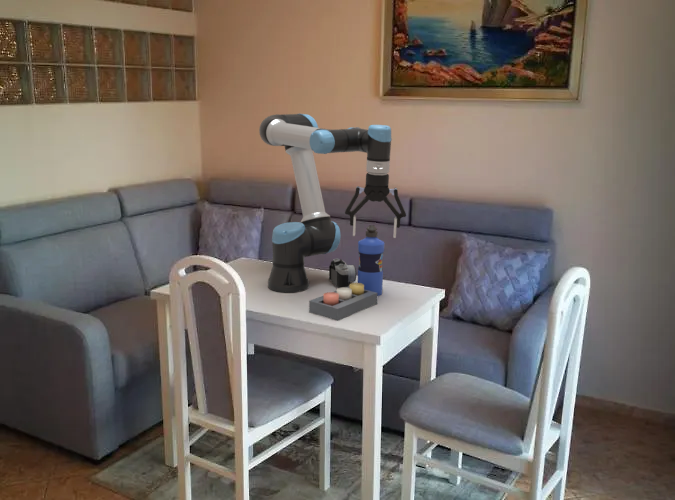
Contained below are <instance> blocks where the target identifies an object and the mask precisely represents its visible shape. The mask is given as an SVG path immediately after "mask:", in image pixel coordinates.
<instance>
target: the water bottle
mask: <svg viewBox="0 0 675 500" xmlns="http://www.w3.org/2000/svg"><path fill="white" fill-rule="evenodd" d="M377 230H378V228H377V226H375V225H374V224H370V225H368V226H367V227H366V231H365V237H364V238H362V239H360V240H359V241H358V242H357V251H358V261H359V263H358V268H357V283H362V284H364V289H365V290H368V291H372V292H376V293H378V296H377V297H380V296H382V295H383V284H384V283H383V279H384V267H383V259H384V258H383V257H384V254H385V253H384V252H385V241H384V240H381V239H380V238H378V235H379V234H378V233H379V232H378V231H377Z"/></svg>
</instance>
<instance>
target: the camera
mask: <svg viewBox="0 0 675 500" xmlns="http://www.w3.org/2000/svg"><path fill="white" fill-rule="evenodd" d="M328 270H329V273H328V280H330V282H331V284H333V285H334V286H335V287H336V289H338V288H341V287H348V286H349V284H351V283H356V281H357V268H356V266H355V265H354V264H353V265H352V264H351V265H350V264H347V263H346V261H344V260H343V259H342V258H338V257H337V258H334V259H332V260H331V262H330V264H329V267H328Z"/></svg>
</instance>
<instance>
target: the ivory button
mask: <svg viewBox="0 0 675 500" xmlns="http://www.w3.org/2000/svg"><path fill="white" fill-rule="evenodd" d="M336 291H337V293H338V294H339V299H341V300H345V301H346V300H349V299H352V289H350V288H346V287H341V288H336Z"/></svg>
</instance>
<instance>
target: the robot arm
mask: <svg viewBox="0 0 675 500" xmlns="http://www.w3.org/2000/svg"><path fill="white" fill-rule="evenodd" d="M258 133H259V135H260V138H261V140H262V142H264V143H265V144H266V145H269V146H273V147H284V150H285V154H287V155H289V156H290V160H291V165H292V169H293V175H294V178H295V183H296V189H297V192H298V193H297V194H298V197H299V203H300V207H301V213H302V219H301V221H299V222H298V221H292V222H290V221H287V222H283V223H281V224H278V225H276V226H275V227H274V228H273V230H272V234H271V235H272V236H271V237H272V238H271V242H272V245H271V246H272V267H271V270H270V274H269V278H268V280H267V287H268V288H269V290H271V291H273V292H279V293H298V292H304V291H306V290H307V289H309V288H310V280H309V278H308V274H307V272H306V268H305V258H306V257H307V258H308V257H312V256H319V255H327V254H328V253H333V252H334V251H336V250H337V249H338V247H339V244H340V243H341V229H340V227H339V225H338V224H337V222H335V221H332V218H331V215H330V214H328V213H327V212H326V209H325V208H326V207H325V204H324V199H323V194H322V189H321V186H320V185H321V184H320V179H319V176H318V171H317V165H316V161H315V156H314V153H315V154H318V155H319V154H322V155H327V154H336V153H337V154H338V153H352V152H359V153H366V166H365V167H366V171H365V172H366V174H365V186H364V187H361V186H358V185H357V186H356V187H355V192H354V194H353V196H352V197H351V200H350V201H349V203H348V205H347V207H346V208H345V210H344V214H345V215H348V216H349V225H350V226H352V237H355V236H356V226H357V222H356V221H357V215H356V214H357V212H358V211H360V210H361V209H362V207H363V206H364V205H366V203H368V201H370V202H378V203H379V202H384V203H385V204H386V206H387V207H388V208H389V209H390V211H391V212H392V213H393V215H394V217H393V219H394V220H393V235H392V236H393V239H396V238H397V229H400V227H401V219H402V218H406V217H407V213H406V211H405V208H404V206H403V204H402V201H401V199H400V197H399V193H398V192H399V191H398V188H397V187H394V188H389V183H390V182H389V179H390V175H389V173H390V166H391V165H390V164H391V161H390V160H391V149H392V140H393V139H392V128H391V126H390V125H386V124H385V125H384V124H371V125H369V126H368V128H367V129H365V128H361V127H359V126H358V127H354V126H352V127H348V128H340V129H331V128H330V129H329V128H322V127H321V128H320V127H319V125H318V122H317V121H316V120H315V118H314V117H313V116H311V115H310V114H307V113H292V114H291V113H289V114H288V113H283V114H278V113H277V114H272V115H268V116H267V117H265V118H264V119H263V120H262V121H261V122H260V125H259V131H258ZM362 193H364V194H365V196H364V197H363V198H362V200H360V202H358V204H357V205H356V206H355V207H354V208H353V206H354V204H355V202H356V200H357V199H358V197H359V195H361V194H362ZM389 194H391V196H394V199H395V201H396V203H397V204H396V205H397V207H398V208H399V209H398V210H399V211H400V212H399V211H398V210H397V209H396V207H395V206H394V205H393V203H392V202H391V201H390V199H389V198H388V195H389ZM352 208H353V209H352Z"/></svg>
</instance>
